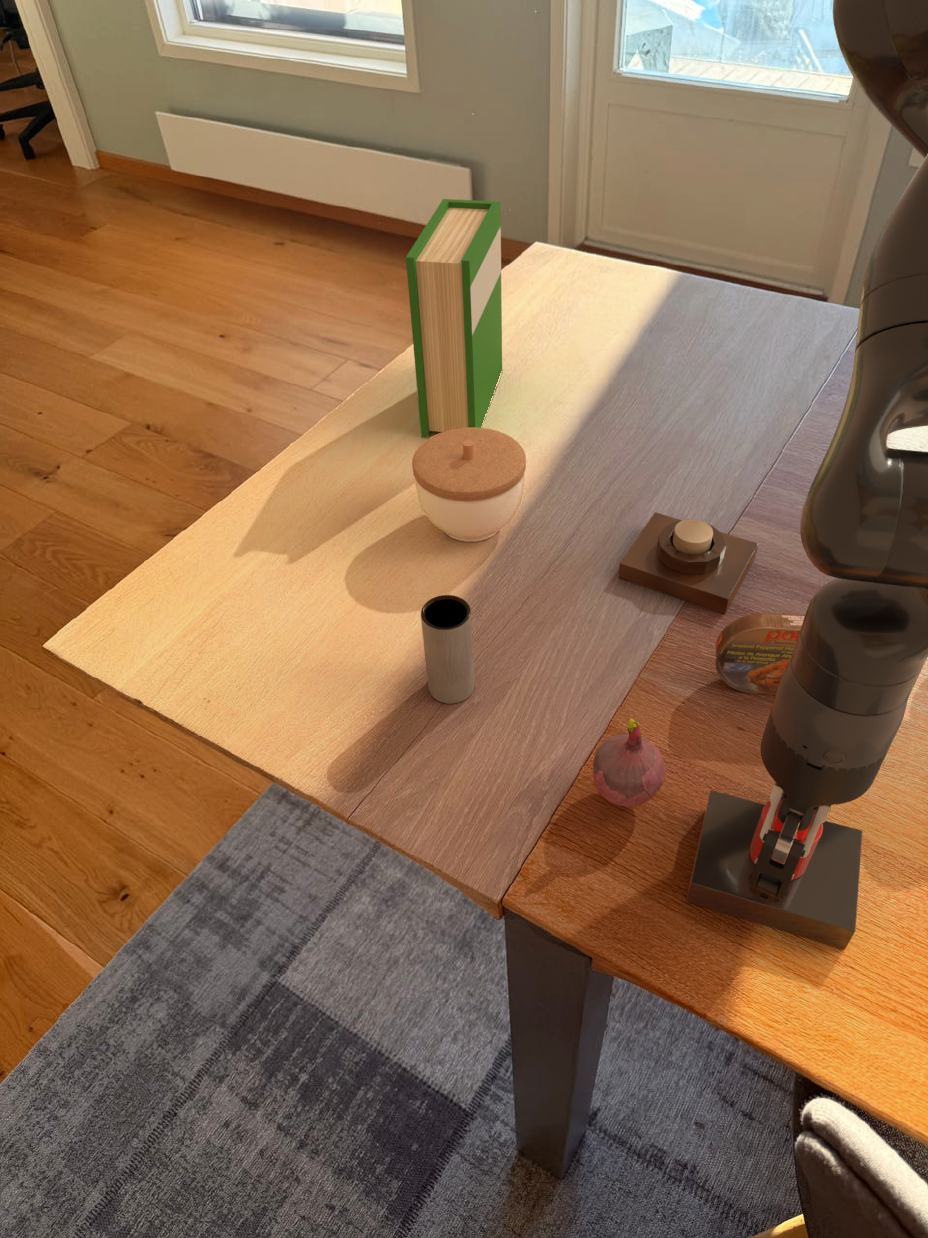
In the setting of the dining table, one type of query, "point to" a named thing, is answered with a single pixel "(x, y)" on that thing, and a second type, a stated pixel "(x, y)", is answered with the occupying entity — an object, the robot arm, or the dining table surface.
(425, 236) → the hardback book
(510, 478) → the lidded bowl
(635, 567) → the button housing
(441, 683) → the planter
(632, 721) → the vegetable
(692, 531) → the button
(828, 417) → the dining table surface
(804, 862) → the dial knob
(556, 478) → the dining table surface
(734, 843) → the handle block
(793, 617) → the tin
